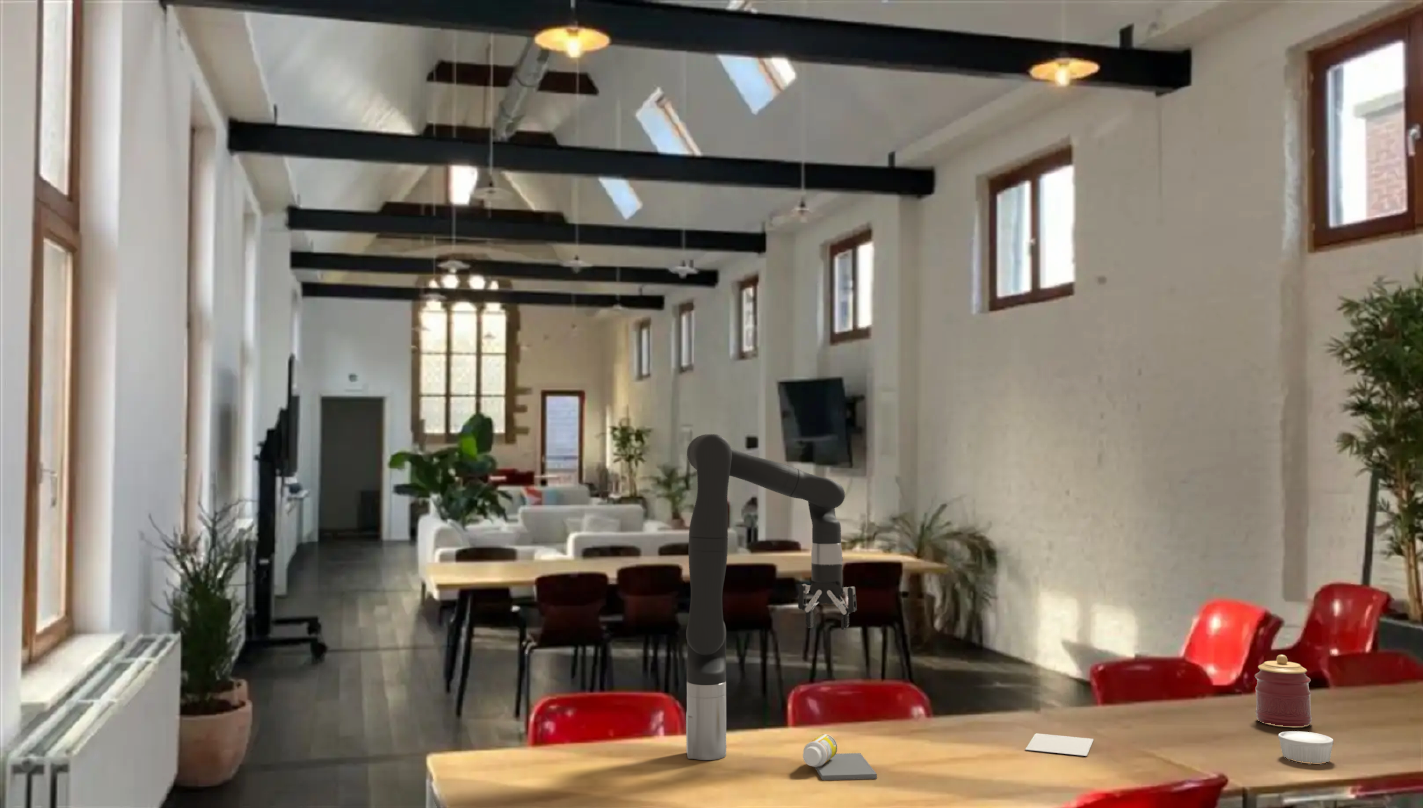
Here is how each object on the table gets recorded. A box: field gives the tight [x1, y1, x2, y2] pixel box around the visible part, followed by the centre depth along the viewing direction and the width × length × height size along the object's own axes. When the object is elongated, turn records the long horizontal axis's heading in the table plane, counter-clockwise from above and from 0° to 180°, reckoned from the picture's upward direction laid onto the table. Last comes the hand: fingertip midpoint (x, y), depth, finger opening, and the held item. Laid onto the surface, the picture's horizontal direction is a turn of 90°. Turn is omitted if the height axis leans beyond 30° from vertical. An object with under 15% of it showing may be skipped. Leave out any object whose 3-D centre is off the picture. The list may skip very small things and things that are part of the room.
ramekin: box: [1277, 730, 1334, 763], centre depth 255 cm, size 11×11×5 cm
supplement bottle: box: [802, 733, 838, 768], centre depth 250 cm, size 6×6×10 cm
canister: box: [1254, 654, 1313, 726], centre depth 290 cm, size 13×13×18 cm
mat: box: [814, 752, 878, 781], centre depth 249 cm, size 12×17×1 cm
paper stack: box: [1025, 732, 1094, 757], centre depth 262 cm, size 23×25×1 cm
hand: (827, 628), depth 270 cm, fingers open, 8 cm apart
